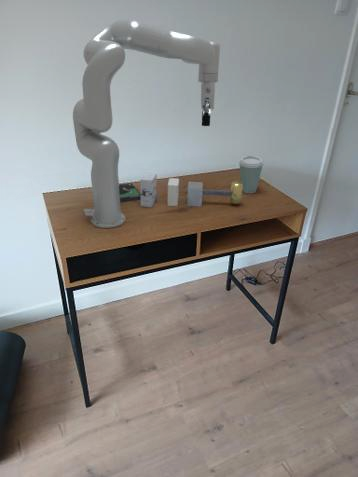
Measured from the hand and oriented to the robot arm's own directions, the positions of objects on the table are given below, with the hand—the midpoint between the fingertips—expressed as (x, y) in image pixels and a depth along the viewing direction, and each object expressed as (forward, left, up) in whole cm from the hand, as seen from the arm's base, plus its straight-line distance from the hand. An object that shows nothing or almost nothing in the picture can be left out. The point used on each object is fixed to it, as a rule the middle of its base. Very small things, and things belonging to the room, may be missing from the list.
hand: (205, 123), depth 149 cm
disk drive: (-33, -6, -31) cm, 46 cm away
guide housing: (-3, -12, -30) cm, 33 cm away
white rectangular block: (-12, -12, -30) cm, 35 cm away
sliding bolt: (+5, -12, -29) cm, 32 cm away
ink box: (-22, -14, -31) cm, 40 cm away
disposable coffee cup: (+21, +4, -31) cm, 37 cm away
